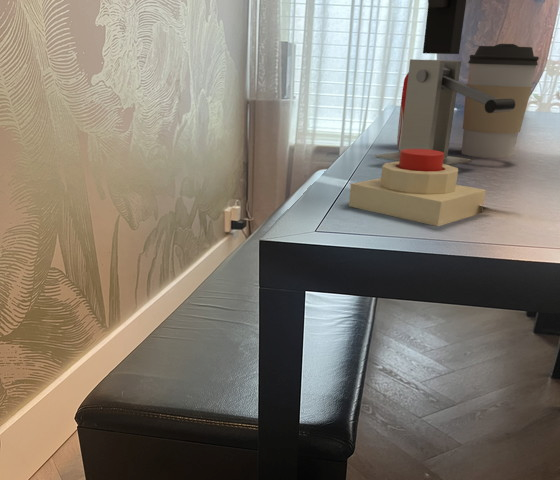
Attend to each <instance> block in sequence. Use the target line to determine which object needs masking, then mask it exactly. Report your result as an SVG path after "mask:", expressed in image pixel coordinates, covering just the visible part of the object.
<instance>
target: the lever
mask: <svg viewBox="0 0 560 480" xmlns="http://www.w3.org/2000/svg"><path fill="white" fill-rule="evenodd" d="M450 71H451V70H450V69H447V68H445V67H444V70H443V77H442V85H441V90H443V89H444V87H446V88H449V89H451V90H453V91H455V92H457V94H460V95H462V96H464V97H465V96H466V97H468V98H471V99H473V100H475V101H477V102H480V103H482V104H484V105H485V111H486V112H487V113H498V112H509V111H512V110H513V109H514V107H515V101H514V100H513V99H498V98H495V97H493V96H491V95H489V94H486V93H484V92H482V91H479V90H477V89H475V88H473V87H470V86H468V85H467V83H463V82H461V81H457V80H455V79H452V78H450V77H448V76H449V73H450Z"/></svg>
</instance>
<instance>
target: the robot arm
mask: <svg viewBox="0 0 560 480" xmlns="http://www.w3.org/2000/svg"><path fill="white" fill-rule="evenodd" d="M466 5H467V0H427V12H426V20H425V30H424V39H423V48H422V54H430V55H432V54H433V55H435V54H436V55H460V49H461V42H462V35H463V27H464V21H465V14H466V13H465V12H466V7H467V6H466Z"/></svg>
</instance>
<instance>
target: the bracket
mask: <svg viewBox="0 0 560 480" xmlns="http://www.w3.org/2000/svg"><path fill="white" fill-rule="evenodd" d="M444 67H445V68H447V69H450V70H451V71H450V73H449V76H448V77H450V78H452V79H455V80H457V81H459V80H460V73H461V67H462V61H461V60H451V59H450V60H448V59H447V60H446V59H445V60H444V59H415V58H413V59H409V66H408V72H409V74H408V73H407V74H408V83H407V91H406V100H405V109H404V118H403V127H402V136H401V144H400V149H399V151H394V152H388V153H381V154H375V156H374V158H376V159H382V160H389V161H393V162H396V161H399V160H400V151H401V150H404V149H428V150H436V151H441V152H443V153H444V159H443V164H445V165H450V166H455V165H461V164H466V163H471V162H472V159H471V158H466V157H458V156H451V155H448V153H449V147H450V141H451V133H452V127H453V120H454V113H455V106H456V100H457V94H458V93H457V92H455V91H453V90H451V89H449V88H446V87H444V89H443V90H441V85H442V77H443V70H444ZM459 82H460V81H459Z"/></svg>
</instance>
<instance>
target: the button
mask: <svg viewBox="0 0 560 480" xmlns="http://www.w3.org/2000/svg"><path fill="white" fill-rule="evenodd" d="M399 152H400V160H399V168H400V169H406V170H412V171H442V166H443V159H444V153H443V152H441V151H436V150H428V149H404V150H401V151H400V150H399Z"/></svg>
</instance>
